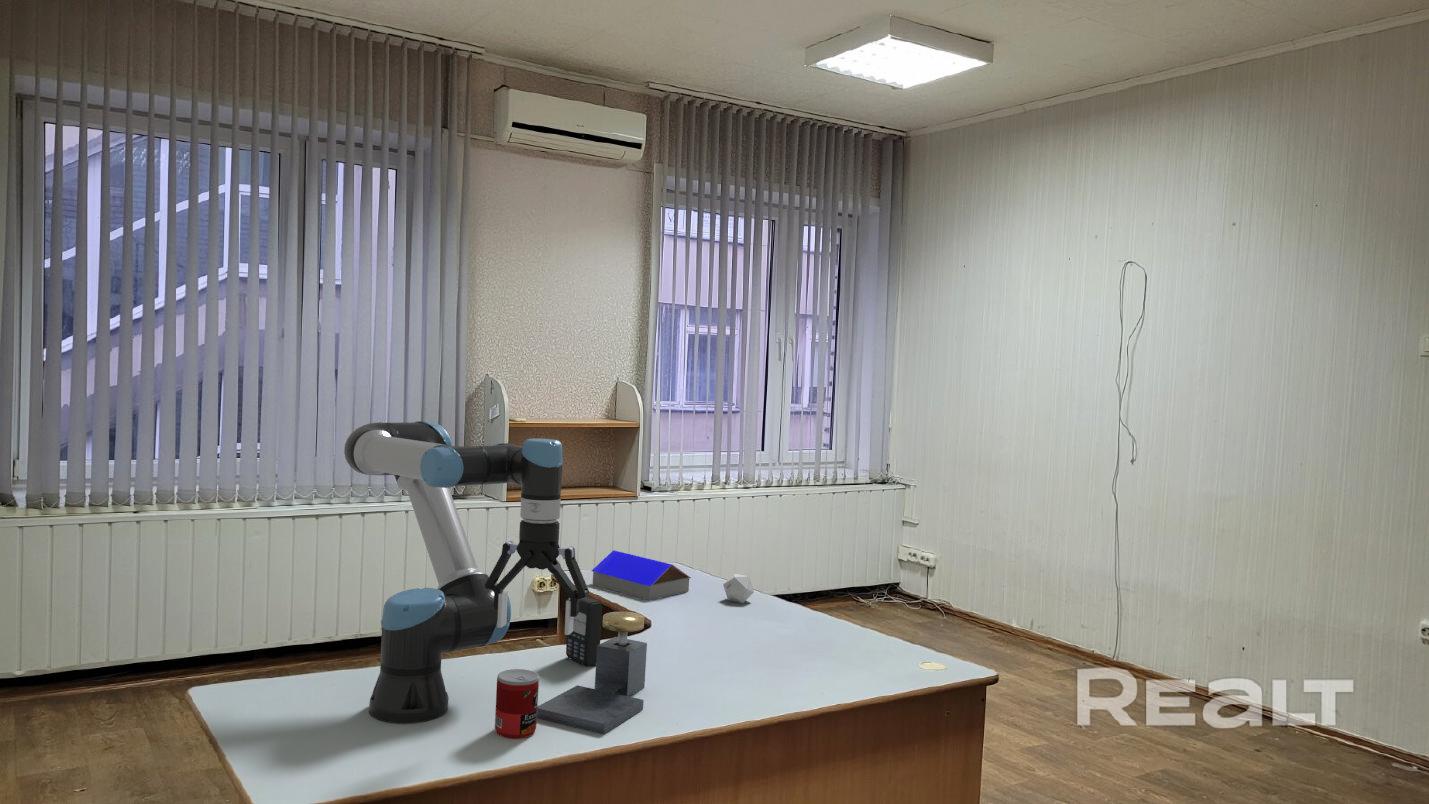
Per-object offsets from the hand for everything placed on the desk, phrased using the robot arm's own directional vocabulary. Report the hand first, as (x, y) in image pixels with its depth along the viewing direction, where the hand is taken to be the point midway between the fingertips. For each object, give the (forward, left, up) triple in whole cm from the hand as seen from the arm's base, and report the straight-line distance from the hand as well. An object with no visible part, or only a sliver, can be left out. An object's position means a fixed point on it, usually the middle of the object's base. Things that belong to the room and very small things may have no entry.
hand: (535, 629), depth 196 cm
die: (-5, +118, -20) cm, 119 cm away
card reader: (-14, +41, -20) cm, 48 cm away
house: (-36, +114, -20) cm, 121 cm away
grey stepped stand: (+5, +19, -20) cm, 28 cm away
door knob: (+3, +29, -14) cm, 33 cm away
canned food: (-2, -3, -20) cm, 20 cm away
